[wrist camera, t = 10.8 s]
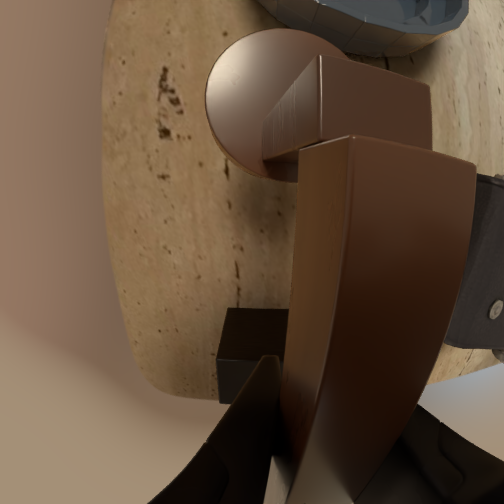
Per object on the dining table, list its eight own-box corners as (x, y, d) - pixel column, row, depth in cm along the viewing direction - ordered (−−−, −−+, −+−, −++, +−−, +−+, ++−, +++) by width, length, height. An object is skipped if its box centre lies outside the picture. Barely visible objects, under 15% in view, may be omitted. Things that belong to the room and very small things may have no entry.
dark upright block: (290, 350, 22) (296, 406, 16) (228, 349, 22) (219, 404, 16) (295, 308, 21) (304, 361, 15) (227, 306, 21) (215, 359, 15)
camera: (359, 277, 21) (487, 307, 20) (405, 376, 10) (549, 375, 9) (395, 143, 17) (521, 204, 16) (491, 132, 7) (605, 237, 6)
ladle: (308, 420, 14) (349, 538, 6) (214, 427, 13) (219, 557, 5) (345, 62, 9) (483, -32, 1) (212, 47, 8) (203, -120, 1)
